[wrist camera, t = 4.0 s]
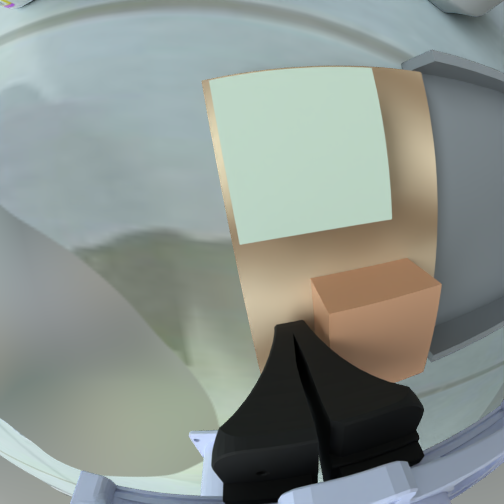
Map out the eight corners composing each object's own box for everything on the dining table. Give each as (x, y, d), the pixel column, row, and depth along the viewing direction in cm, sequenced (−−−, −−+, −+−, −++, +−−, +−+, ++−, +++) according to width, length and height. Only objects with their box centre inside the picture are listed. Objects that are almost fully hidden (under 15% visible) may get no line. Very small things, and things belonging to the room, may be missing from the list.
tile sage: (358, 203, 11) (391, 219, 8) (240, 221, 11) (239, 244, 8) (341, 87, 9) (371, 68, 7) (218, 100, 10) (208, 80, 7)
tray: (509, 293, 16) (530, 309, 13) (410, 335, 16) (431, 362, 13) (513, 91, 10) (540, 90, 7) (401, 63, 10) (431, 49, 8)
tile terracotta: (399, 338, 14) (423, 371, 11) (316, 361, 14) (329, 401, 11) (406, 257, 12) (441, 284, 9) (310, 278, 12) (328, 314, 9)
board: (408, 325, 16) (423, 342, 14) (260, 360, 16) (262, 382, 14) (400, 79, 11) (420, 72, 9) (207, 91, 11) (201, 80, 9)
